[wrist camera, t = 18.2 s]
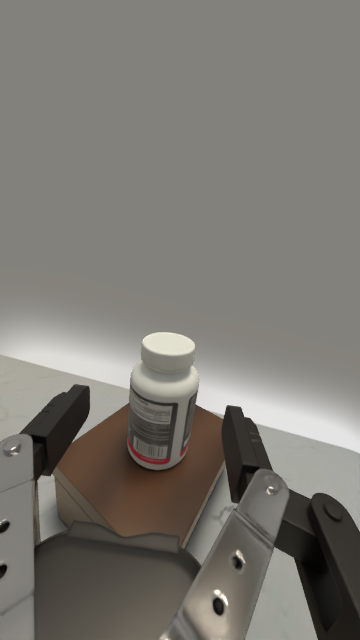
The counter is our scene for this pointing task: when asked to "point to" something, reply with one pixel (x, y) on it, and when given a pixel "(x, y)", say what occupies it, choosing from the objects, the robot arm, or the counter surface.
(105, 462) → the stand
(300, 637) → the counter surface
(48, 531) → the counter surface
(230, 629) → the robot arm
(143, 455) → the pill bottle
